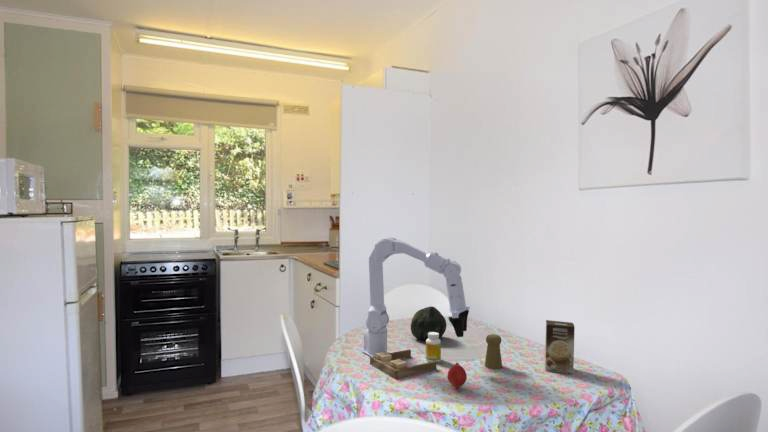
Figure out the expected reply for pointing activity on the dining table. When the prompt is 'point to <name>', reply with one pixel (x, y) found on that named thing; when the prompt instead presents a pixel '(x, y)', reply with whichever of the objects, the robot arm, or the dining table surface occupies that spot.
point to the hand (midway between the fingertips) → (461, 333)
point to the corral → (402, 371)
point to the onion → (457, 376)
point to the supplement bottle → (433, 347)
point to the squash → (428, 323)
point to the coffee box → (559, 347)
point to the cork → (493, 352)
